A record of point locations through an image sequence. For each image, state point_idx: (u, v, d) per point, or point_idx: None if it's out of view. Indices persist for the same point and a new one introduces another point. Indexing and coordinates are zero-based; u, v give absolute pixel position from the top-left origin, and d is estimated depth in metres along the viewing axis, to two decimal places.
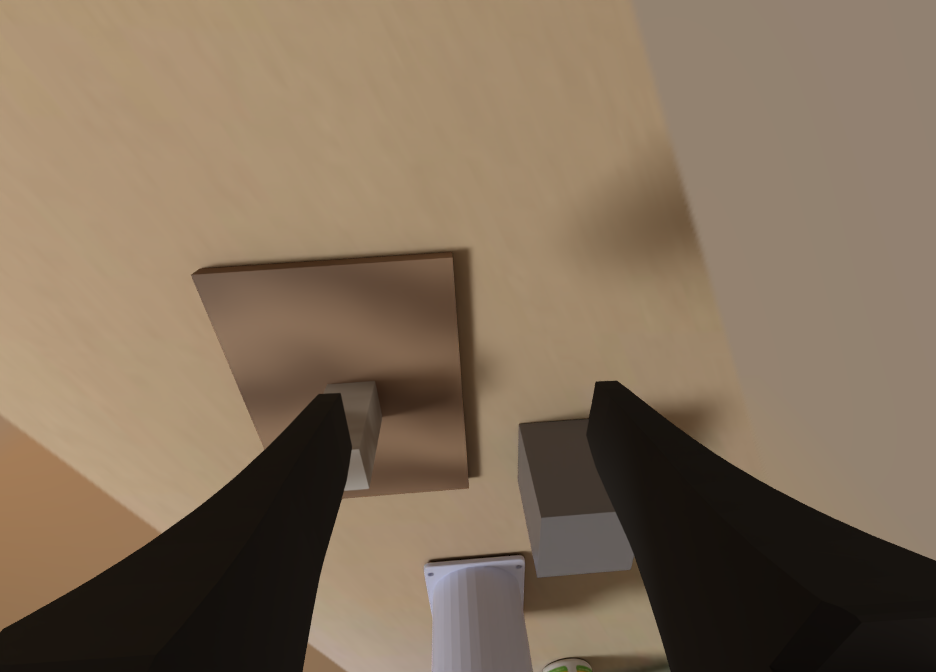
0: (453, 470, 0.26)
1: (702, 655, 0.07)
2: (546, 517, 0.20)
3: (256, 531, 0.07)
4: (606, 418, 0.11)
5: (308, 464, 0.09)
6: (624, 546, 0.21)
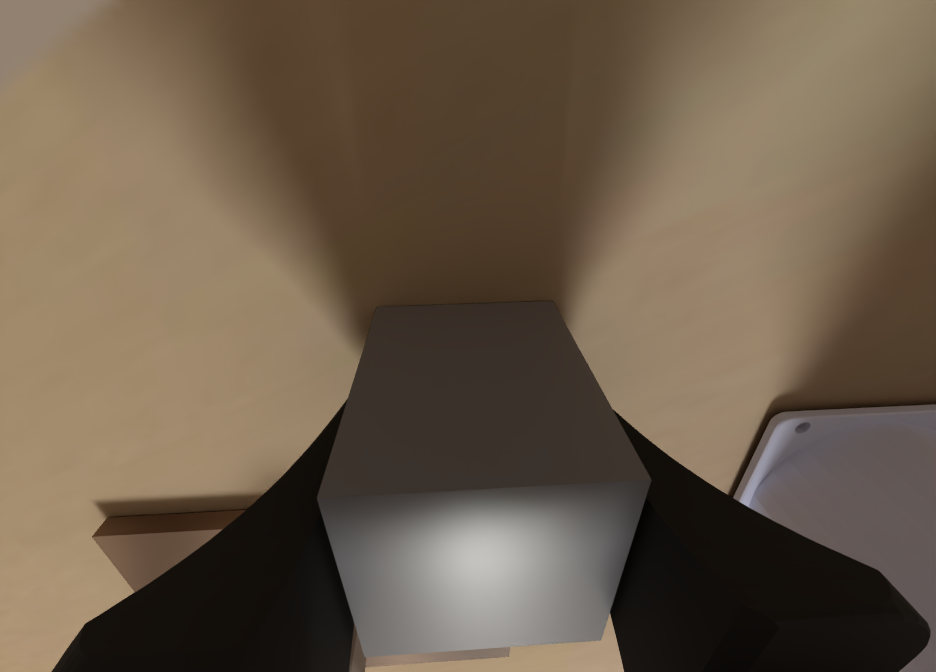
0: None
1: (649, 659, 0.07)
2: (364, 650, 0.09)
3: (315, 527, 0.07)
4: None
5: None
6: (508, 514, 0.07)
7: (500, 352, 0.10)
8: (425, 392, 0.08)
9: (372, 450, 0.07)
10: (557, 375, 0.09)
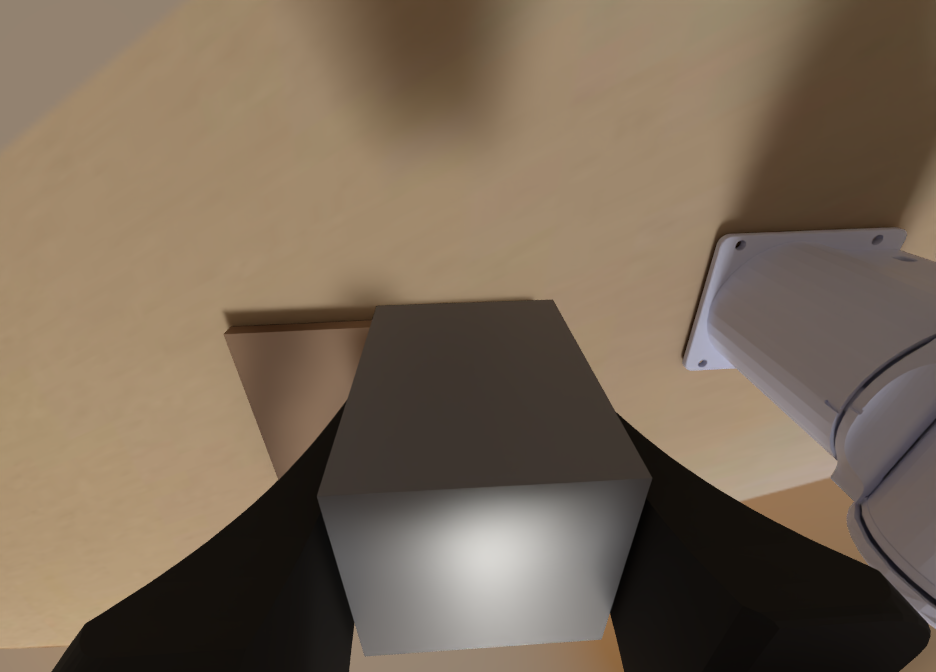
0: None
1: (649, 659, 0.07)
2: (364, 649, 0.09)
3: (315, 527, 0.07)
4: None
5: None
6: (509, 513, 0.07)
7: (500, 351, 0.10)
8: (426, 390, 0.08)
9: (372, 448, 0.07)
10: (558, 373, 0.09)
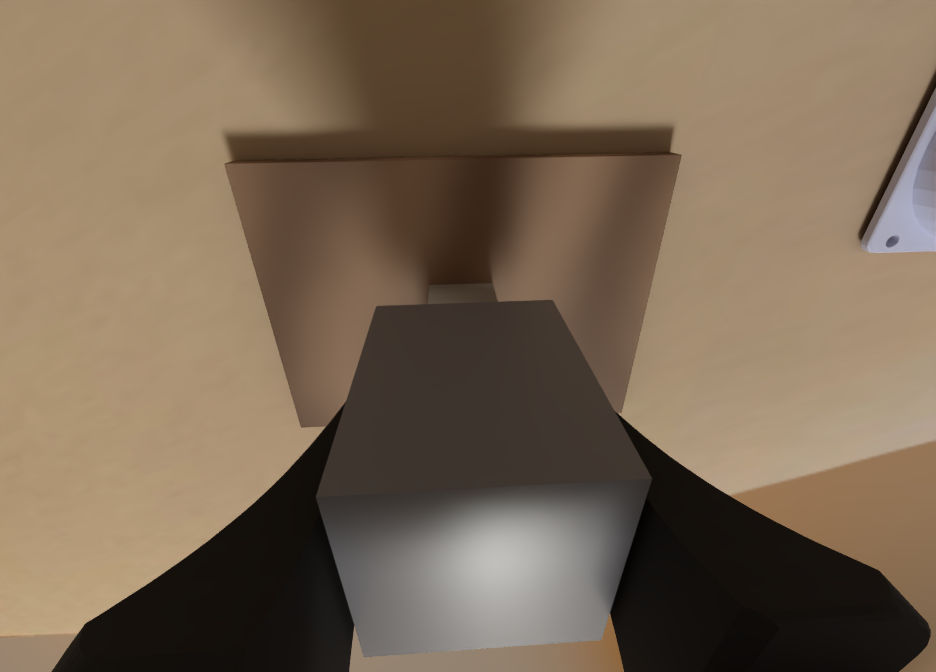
0: (627, 182, 0.15)
1: (649, 659, 0.07)
2: (363, 650, 0.09)
3: (315, 527, 0.07)
4: None
5: None
6: (508, 513, 0.07)
7: (500, 351, 0.10)
8: (425, 390, 0.08)
9: (371, 448, 0.07)
10: (558, 373, 0.09)
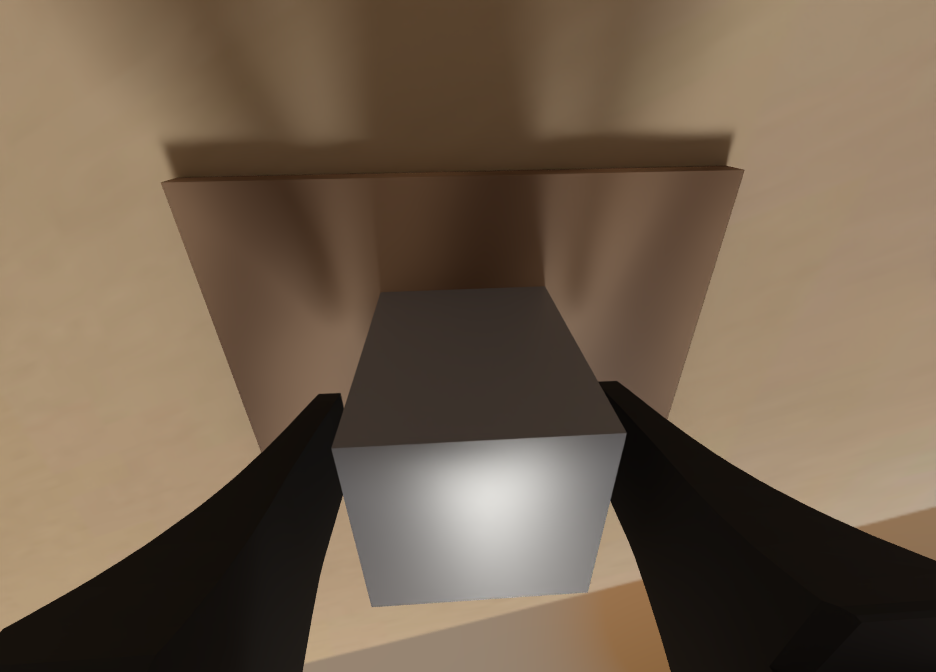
0: (673, 204, 0.12)
1: (701, 655, 0.07)
2: (371, 600, 0.10)
3: (256, 531, 0.07)
4: None
5: (308, 464, 0.09)
6: (500, 465, 0.07)
7: (495, 330, 0.10)
8: (426, 363, 0.09)
9: (379, 410, 0.08)
10: (547, 349, 0.10)
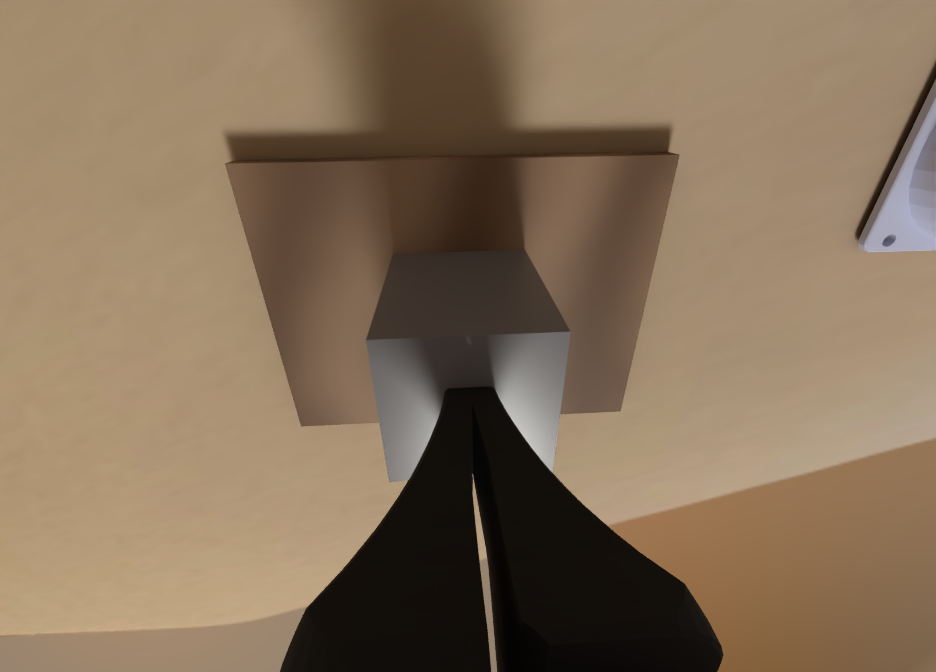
0: (625, 182, 0.15)
1: (502, 670, 0.07)
2: (389, 475, 0.13)
3: (474, 518, 0.07)
4: (473, 424, 0.10)
5: None
6: (483, 357, 0.11)
7: (483, 277, 0.14)
8: (430, 296, 0.12)
9: (397, 321, 0.11)
10: (521, 287, 0.13)
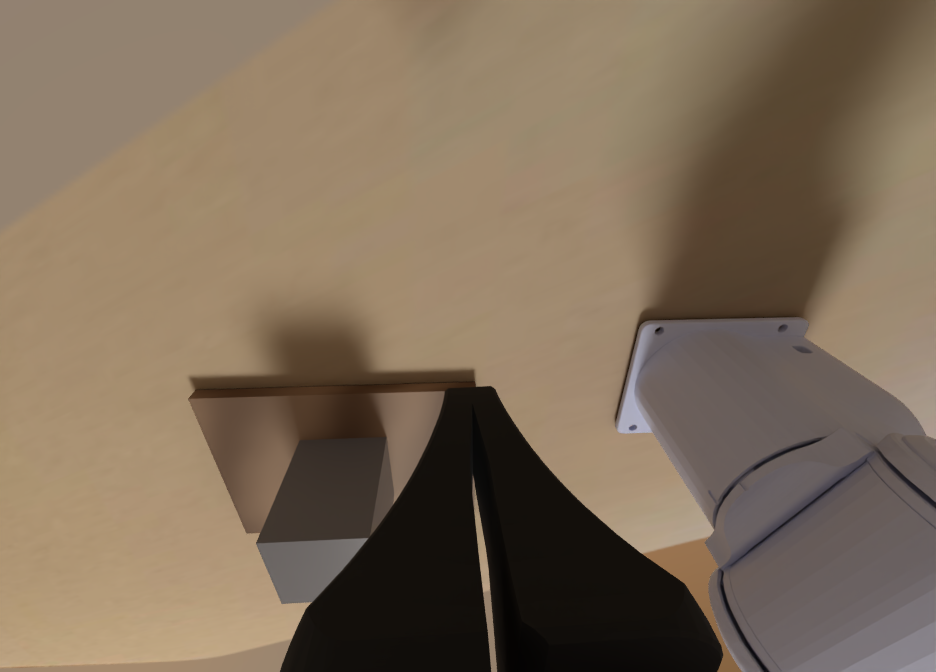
0: None
1: (503, 670, 0.07)
2: (281, 600, 0.21)
3: (474, 518, 0.07)
4: (473, 424, 0.10)
5: None
6: (323, 548, 0.19)
7: (345, 473, 0.22)
8: (306, 496, 0.21)
9: (278, 524, 0.20)
10: (363, 487, 0.21)
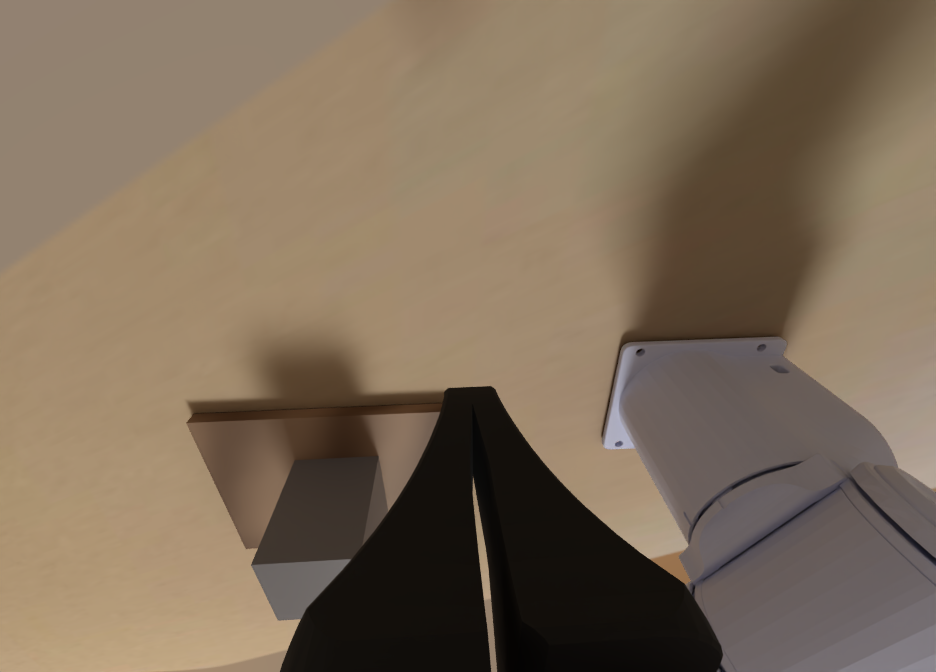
0: (434, 424, 0.24)
1: (503, 670, 0.07)
2: (277, 617, 0.22)
3: (474, 518, 0.07)
4: (473, 424, 0.10)
5: (471, 456, 0.09)
6: (316, 569, 0.20)
7: (338, 493, 0.23)
8: (299, 517, 0.22)
9: (273, 545, 0.20)
10: (355, 508, 0.22)
